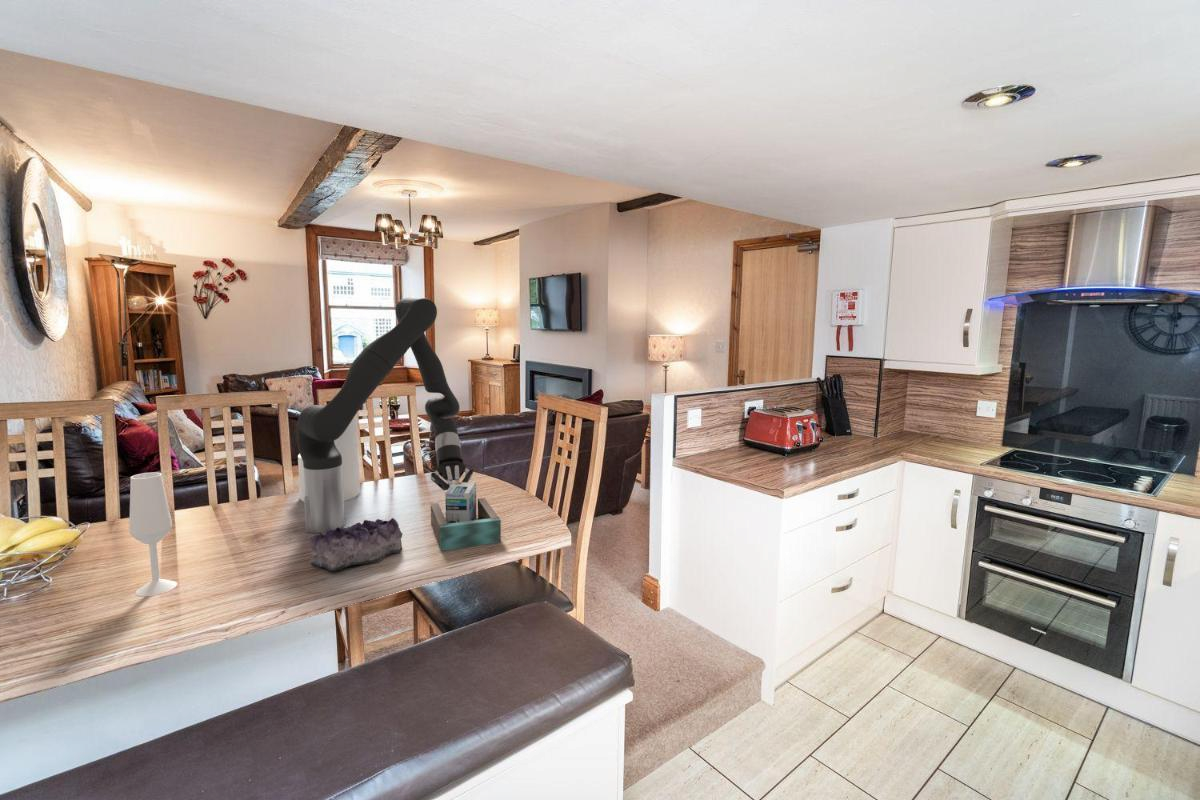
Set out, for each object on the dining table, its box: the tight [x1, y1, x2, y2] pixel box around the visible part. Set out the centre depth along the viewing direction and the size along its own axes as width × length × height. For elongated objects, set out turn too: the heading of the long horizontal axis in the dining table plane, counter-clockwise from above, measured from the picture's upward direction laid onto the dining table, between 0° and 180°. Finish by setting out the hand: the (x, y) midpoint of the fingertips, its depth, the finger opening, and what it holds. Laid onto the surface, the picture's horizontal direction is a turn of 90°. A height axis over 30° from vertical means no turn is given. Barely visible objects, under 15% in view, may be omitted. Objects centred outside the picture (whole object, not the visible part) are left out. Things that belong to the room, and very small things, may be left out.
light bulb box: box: [444, 481, 478, 524], centre depth 149 cm, size 11×7×11 cm, turn 3°
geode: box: [308, 517, 403, 572], centre depth 126 cm, size 20×12×10 cm, turn 134°
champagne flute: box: [128, 471, 178, 597], centre depth 108 cm, size 7×7×24 cm
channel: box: [430, 497, 502, 552], centre depth 143 cm, size 15×19×6 cm
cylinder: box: [297, 412, 361, 503], centre depth 170 cm, size 17×17×28 cm
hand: (456, 500), depth 154 cm, fingers closed
